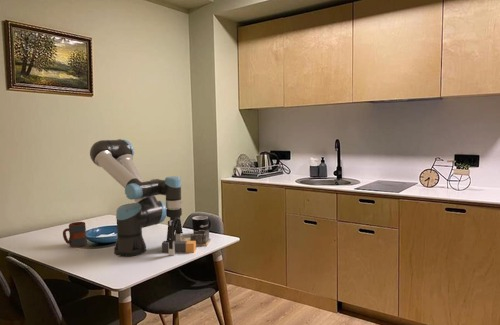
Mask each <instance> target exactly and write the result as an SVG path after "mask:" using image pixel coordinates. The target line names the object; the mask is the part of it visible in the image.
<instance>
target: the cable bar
mask: <svg viewBox="0 0 500 325" xmlns="http://www.w3.org/2000/svg"><path fill="white" fill-rule="evenodd" d="M173 242H174V252H175V253H185V254H190V253H191V254H194V253H195V252H196V250H197V246H196V241H173ZM161 252H162V253H169V251H168V242H166V240H164V241H162V242H161Z"/></svg>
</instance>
